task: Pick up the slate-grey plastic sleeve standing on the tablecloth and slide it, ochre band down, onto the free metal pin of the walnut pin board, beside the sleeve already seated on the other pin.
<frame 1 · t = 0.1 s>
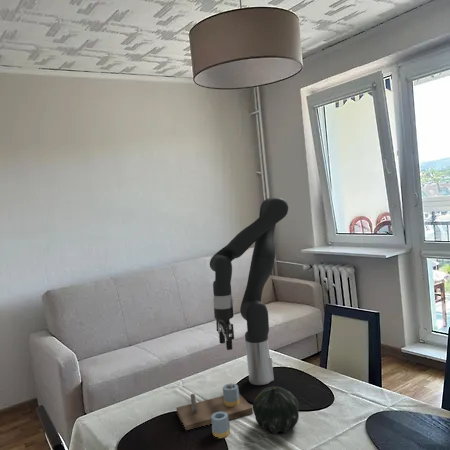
hand: (225, 346, 175), 17 cm above the table, tool pointing down, fingers open, 8 cm apart
slate sleeve: (221, 433, 144), on the table
squash: (278, 427, 145), on the table
pin board: (214, 413, 158), on the table
seated sleeve: (232, 402, 160), point 2 cm above the table, touching pin board
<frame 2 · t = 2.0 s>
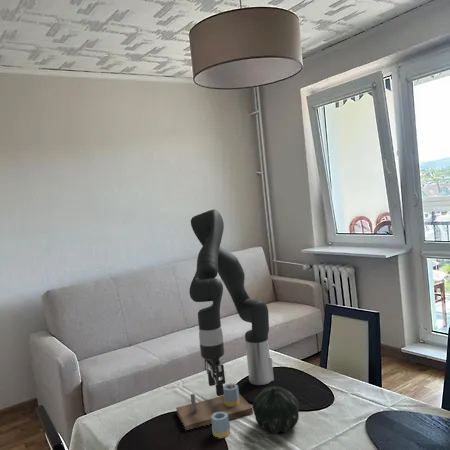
hand: (216, 390, 143), 15 cm above the table, tool pointing down, fingers open, 8 cm apart
nothing on the table moved.
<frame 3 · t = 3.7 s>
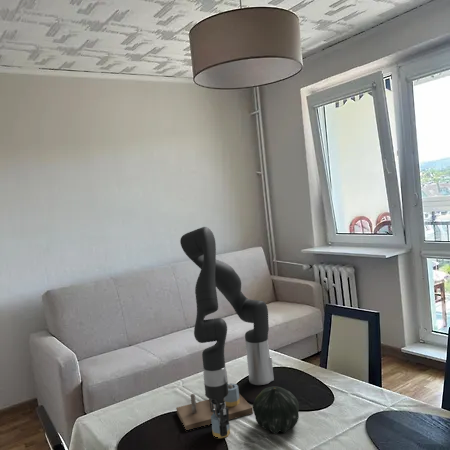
hand: (220, 430, 144), 1 cm above the table, tool pointing down, fingers closed on slate sleeve, 5 cm apart
slate sleeve: (221, 433, 144), on the table, touching gripper
everything else where it was.
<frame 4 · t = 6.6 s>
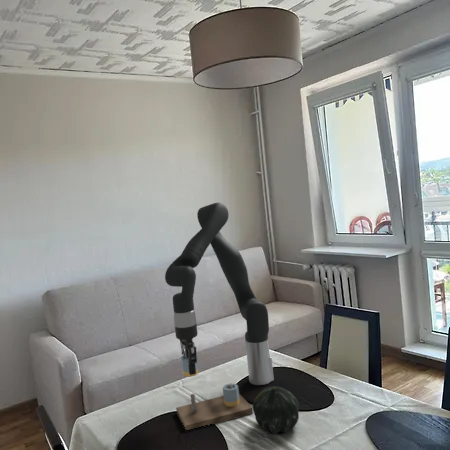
hand: (190, 370, 155), 17 cm above the table, tool pointing down, fingers closed on slate sleeve, 5 cm apart
slate sleeve: (190, 373, 155), point 16 cm above the table, touching gripper
everything else where it was.
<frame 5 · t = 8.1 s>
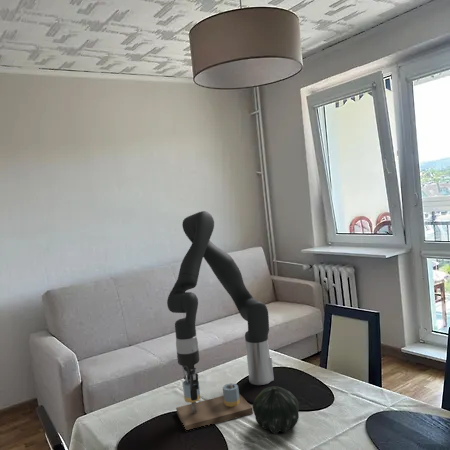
hand: (192, 396, 155), 8 cm above the table, tool pointing down, fingers closed on slate sleeve, 5 cm apart
slate sleeve: (192, 398, 155), point 7 cm above the table, touching gripper
everything else where it was.
when the fingers open (4 cm above the table, at t = 9.4 s): slate sleeve stays where it is, resting on pin board.
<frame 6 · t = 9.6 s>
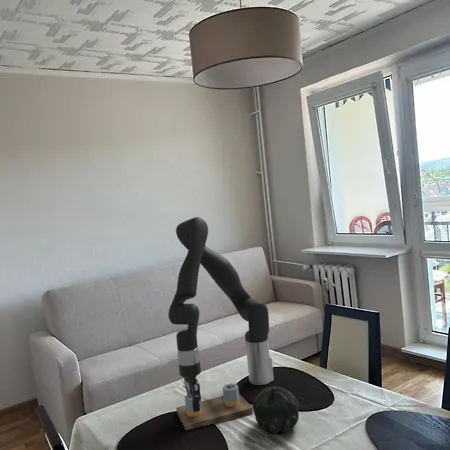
hand: (193, 406, 156), 4 cm above the table, tool pointing down, fingers open, 7 cm apart
slate sleeve: (194, 412, 156), point 2 cm above the table, touching pin board
everything else where it was.
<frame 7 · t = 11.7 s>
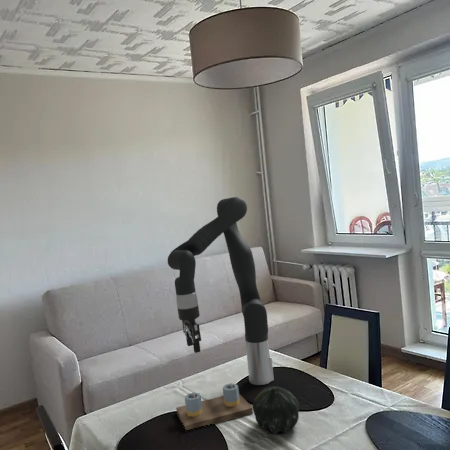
hand: (193, 348, 161), 22 cm above the table, tool pointing down, fingers open, 8 cm apart
nothing on the table moved.
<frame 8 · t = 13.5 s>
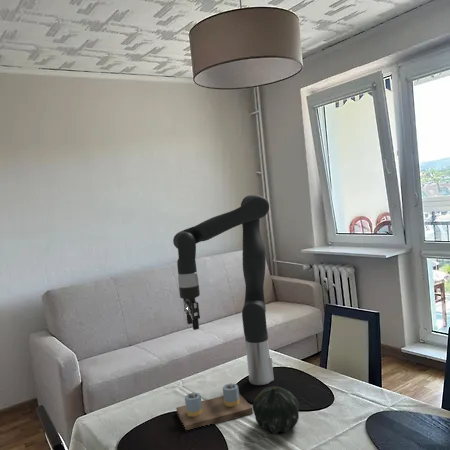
hand: (193, 326, 169), 28 cm above the table, tool pointing down, fingers open, 8 cm apart
nothing on the table moved.
at the end: slate sleeve 0.0 cm from the target spot on the pin board, point 2.0 cm above the pin board's base; slate sleeve tilted 0°; the gripper is holding nothing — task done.
